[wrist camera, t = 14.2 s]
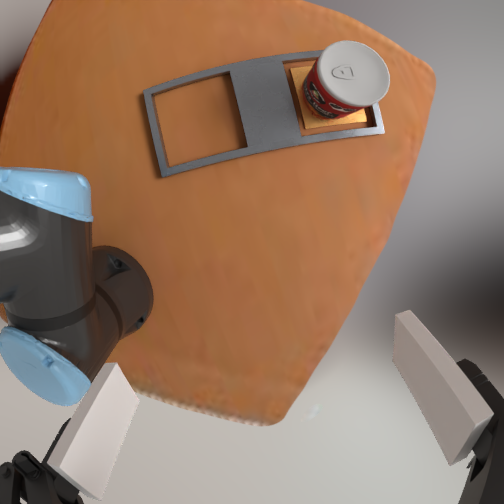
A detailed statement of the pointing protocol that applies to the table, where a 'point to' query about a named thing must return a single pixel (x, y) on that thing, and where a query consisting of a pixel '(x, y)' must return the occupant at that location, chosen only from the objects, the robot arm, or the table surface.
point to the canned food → (345, 80)
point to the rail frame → (261, 109)
